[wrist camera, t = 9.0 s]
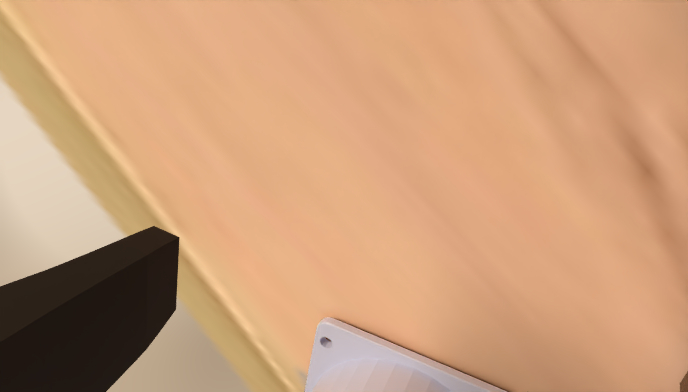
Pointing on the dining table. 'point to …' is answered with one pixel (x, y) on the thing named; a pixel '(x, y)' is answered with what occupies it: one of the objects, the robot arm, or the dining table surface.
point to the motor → (684, 384)
